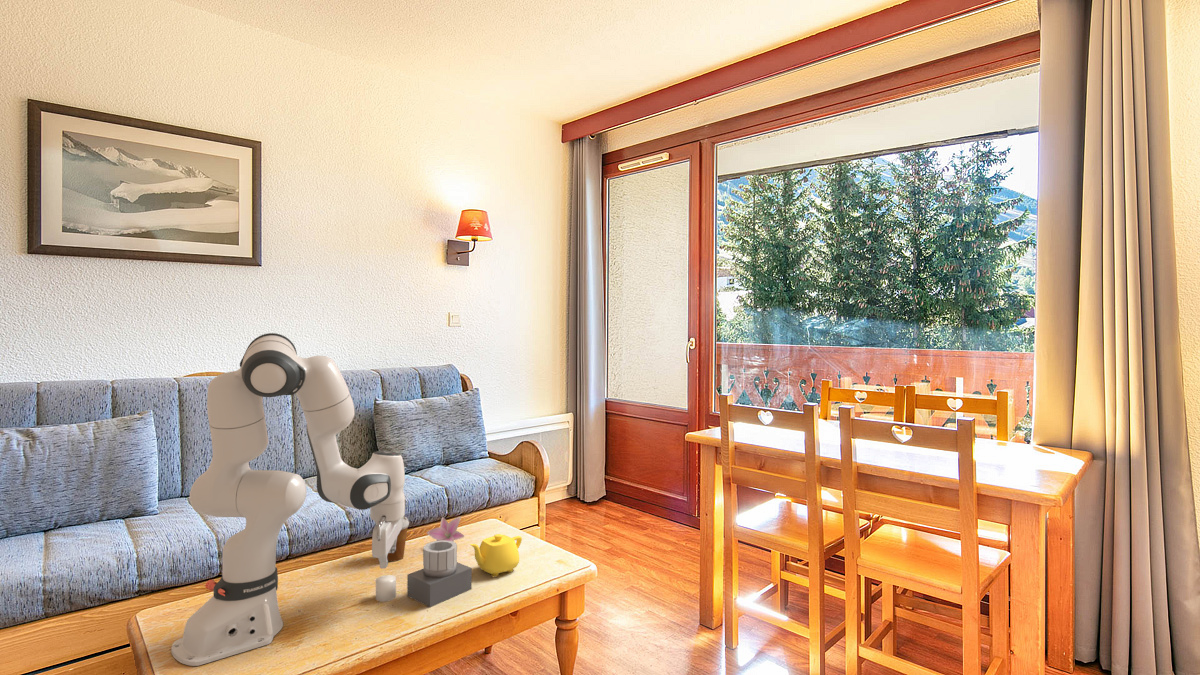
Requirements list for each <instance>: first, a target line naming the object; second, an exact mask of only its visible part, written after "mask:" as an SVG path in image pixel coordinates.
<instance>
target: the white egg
mask: <svg viewBox="0 0 1200 675" xmlns="http://www.w3.org/2000/svg"><path fill="white" fill-rule="evenodd" d="M396 597H397V577H396V576H395V575H391V574H388V575H387V574H386V575H381V576H378V577H377V578H376V579H375V600H376V601H377V600H378V601H377V602H384V603H385V602H390V601H393V600H394V599H396Z"/></svg>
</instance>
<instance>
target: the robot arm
mask: <svg viewBox="0 0 1200 675" xmlns="http://www.w3.org/2000/svg"><path fill="white" fill-rule="evenodd" d="M239 367H240V368H239V369H237V370H233V371H228V372H224V373H221V374H219V375H217V376H216V377H214V378H213V379H211V381H210V382H209V384H208V387H207V397H206V398H207V400H206V401H207V402H206V403H207V408H206V410H207V417H208V418H207V419H208V425H209V432H210V437H211V446H212V458H211V462H210V463H209V467H207V470H206V471H204V472H203V473H202V474H201V475H199V476H198V477H197V478H196V479H195V481H194V482H193V484H192V485H191V488H190V491H189V502H190V504H191V507H192V509H193V511H195V512H196V513H197V514H202V515H206V516H210V517H216V518H244V519H245V528H244V529H242V530H240V531H238V532H236V533H235V534H233V535H231V536H230V537H229V538H228V539H227V540H226V541H225V543H224V544H223V548H222V575H221V577H220V579H219V580H218V581H214V579H209V580H208V581H207V580H206V583H205V585H204V586H205V588H206V589H207V590H208V591H210V592H211V591H213V596H212V597H210V598H209V599H208V600H207V601H206V602H205V603H204V604H203V605H202V606H201V607H199V608H198V609H197V610H196V611H195V612H194V613H193V614H192V615H191V616H190V617H188V619H187V620H186V622H185V626H184V628H183V629H184V630H183V634H182V637H181V638H178V639H177V640H175V641H173V642H172V644H171V649H170V650H171V651H170V652H171V656H172V657H173V658H174V660H176V661H177V662H179V663H181V664H183V665H186V666H193V667H198V666H202V665H204V664H205V665H206V664H208V663H212V662H214V661H215V662H216V661H218V660H222V659H224V658H225V659H226V658H228V657H231V656H234V655H237V654H241V653H244V652H247V651H251V650H254V649H257V648H260V647H263V646H267V645H270V644H271V643H272V642H273V639H274V637H275V636H276V635H277V634H278V633H279V632H280V631H281V630H282V629H283V626H284V621H283V619H282V617H281V612H280V607H279V602H278V594H277V590H278V589H279V588H278V587H279V586H278V585H279V575H278V568H277V566H276V563H277V562H276V558H277V556H276V555H277V543H278V537H279V535H280V532H281V529H282V527H283V526H284V524H285V523H286V522H287V520H289V518H290V517H292V516H293V515H295V514H296V513H297V512H298V511H299V510H301V508H302V507H303V504H304V503H305V502H306V498H307V492H308V490H307V485H306V482H305V480H304V478H303V477H302V476H301V475H300V474H298V473H294V472H289V471H284V470H277V469H276V470H275V469H273V470H271V469H270V470H269V469H268V470H266V469H262V470H261V469H252V468H251V467H250V464H249V463H250V462H251V461H253V460H255V459H257V458H259V456H261V455H262V454H263V453H264V452H265V451H266V449H267V447H268V443H269V437H268V427H267V424H266V416H265V409H264V403H263V402H264V401H263V399H264V398H275V397H279V396H280V397H281V396H294V395H296V397H297V399H298V401H299V403H300V407H301V410H302V411H303V414H304V418H305V420H306V435H307V439H308V443H309V448H310V451H311V453H312V458H313V461H314V465H315V468H316V469H315V470H316V491H317V494H318V496H319V497H320V499H322V500H323V501H324V502H327V503H333V504H339V505H342V506H344V507H349V508H352V509H353V510H354V509H355V510H360V511H365V510H368V509H370V510H369V513H370V514H369V516H370V517H369V518H370V519H371V520H372V521H374V522H375V526H374V527H373V530H372V537H371V538H372V539H371V540H372V541H371V556H372V558H374V559H376V558H377V560H378V562H379V568H380V569H382V570H383V569H384V570H385V569H387V567H388V566H389V561H388V560H387V555H388V553H394V552H395V550H396V542H397V536H398V535H399V533H400V531H401V529H402V525H403V516H404V517H405V514H406V506H407V499H406V496H405V492H404V486H405V483H406V482H405V481H406V480H405V479H406V478H405V476H406V475H405V464H404V459H403V457H402V454H400V453H398V452H396V451H392V450H391V451H390V450H376V451H373V453H372V454H371V457H370V459H368V460H367V462H366V463H364V464H363V465H362V466H361V467H359V468H356V467H352V466H350V465H349V464H347V463H346V462H345V461H343V459H342V457H341V453H340V450H339V444H338V442H337V435H338V434H339V433H341V432H342V431H343V430H345V429H346V428H347V427H349V425H350V424H351V423H352V421H353V419H354V417H355V414H356V413H355V406H354V405H355V404H354V401H353V398H352V396H351V393H350V389H349V386H348V385H347V382H346V380H345V379H344V376H343V374H342V372H341V371H340V368H339V367H338V366H337V364H336V362H335V361H334V360H333V359H332V358H330V357H328V356H325V355H324V356H323V355H313V356H309V357H301V356H298V354H297V349H296V346H295V344H294V343H293V342H292V341H291V340H290V339H289V338H288V337H287V336H285V335H282V334H280V333H276V332H275V333H274V332H270V333H263V334H261V335H258V336H257V337H256V338H254V339H253V340H252V341H251V342H250V343H249V345H248V346H247V348H246V350H245V352H244V354H243V357H242V358H241V360H240V363H239Z"/></svg>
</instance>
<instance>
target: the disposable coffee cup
mask: <svg viewBox="0 0 1200 675" xmlns="http://www.w3.org/2000/svg"><path fill="white" fill-rule="evenodd" d="M409 524H410V522H409V519H408V517H406V516H405V515H404V516H403V525H402V529H401V531H400V533H399V535H398V536H397V542H396V550H395V552H394V553H388V555H387V560H388V563H390V562H397V561H401V560H402V559H404V557H405V549H406V543H407V542H406V540H407V534H408V527H409V526H410V525H409Z"/></svg>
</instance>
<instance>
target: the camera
mask: <svg viewBox="0 0 1200 675" xmlns="http://www.w3.org/2000/svg"><path fill="white" fill-rule="evenodd" d="M422 551H423V552H422V557H423V559H422V561H423V562H422V565H423V568H421V569H419V570H415V571H413V572H411V573H408V574H407V577H406V578H407V579H406V580H407V581H406V584H407V585H406V587H407V588H406V589H407V592H406V595H407V597H408V598H411V599H413V600H415V601H417V602H419V603H421V604H423V605H425V606H427V607H429V608H432V607H434V606H436V605H438V604H441V603H443V602H446V601H447V600H450V599H453V598H454V597H456V596H457V597H458V595H459V596H460V595H461V594H463V593H466V592H468V591H470V590H472V583H473V582H472V579H473V578H472V571H473V570H472V567H470V566H468V565H466V564H463V563H460V562H458V545H457V543H456V542H455V541H454V542H452V541H447V540H440V541H437V540H434V541H431V542H427V543H426V544H424V545H423V548H422Z"/></svg>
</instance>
